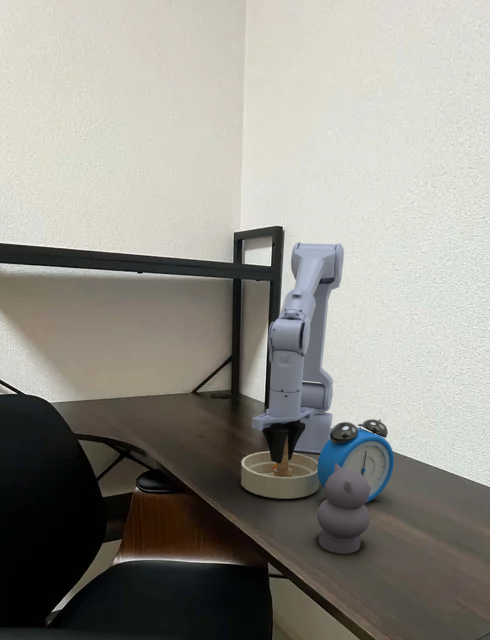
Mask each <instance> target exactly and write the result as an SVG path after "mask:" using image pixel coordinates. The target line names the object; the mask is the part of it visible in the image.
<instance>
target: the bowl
mask: <svg viewBox="0 0 490 640" xmlns="http://www.w3.org/2000/svg"><path fill="white" fill-rule="evenodd" d="M275 464H276V462H273V461H271V456H270V451H269V450H267V451H258V452H254V453H250V454H248V455H246V456H244V457H243V458H242V460H240V485H241V486H242V487H243V488H244V489H245V490H246V491H248V492H250V493H252V494H254V495H256V496H257V495H258V496H260V497H265V498H271V499H280V500H281V499H283V500H284V499H285V500H288V499H298V498H299V499H300V498H304V497H308V496H311V495H313V494H315V493H316V492H317V491H318V490H319V487H320V481H319V478H318V473H317V466H318V460H316V459H315V458H313V457H310V456H308V455H305V454H302V453H297V452H293V455H292V458H291V460H288V468H291V469H292V477H276V476H274V473H273V466H274V465H275Z"/></svg>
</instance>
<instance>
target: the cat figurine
mask: <svg viewBox="0 0 490 640" xmlns="http://www.w3.org/2000/svg"><path fill="white" fill-rule="evenodd" d="M369 494H370V487H369V484H368V482H367V480H366V478H365V477H364V476H363V475H361V474H360V473H358V472H356V471H354V470H348V469H344V470H343V469H342V468H341V467H340V466H339V465H338V464H337V463H336V462H335V469H334V473H333V474H332V475H331V476H330V477H329V478H328V480H327V481H326V484H325V489H324V495H325V498H326V499H325V500H323V501H322V502H321V503H320V505H319V507H318V509H317V512H316V518H317V522H318V524H319V527H321V530H320V531H319V534H318V544H319V545H320V547H321V548H322V549H324V550H326V551H329V552H330V553H334V554H335V553H336V554H351V553H354V552H355V553H356V552H357V551H358V550H360V547H361V542H362V536H361V535H362V534H363V533H364V532H366V531H367V529H368V527H369V526H370V521H371V515H370V512H369V510H368V508H367V507H366V502H367V500H368V498H369ZM367 503H368V502H367Z"/></svg>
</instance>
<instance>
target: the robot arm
mask: <svg viewBox="0 0 490 640" xmlns="http://www.w3.org/2000/svg"><path fill="white" fill-rule="evenodd" d="M344 251H345V249H344V247H343V245H342V244H341V243H337V244H336V243H335V244H334V243H307V242H305V243H303V242H299V241H298V242H296V243H295V244H294V245H293V247H292V250H291V255H290V268H291V269H290V270H291V273H292V275H293V278H294V281H295V284H294V288H293V289H292V290H290V291H288V293H286V296H285V297H284V300H283V304H282V306H281V310H280V312H279V314H278V318H277V319H275V321H271V323H270V325H269V327H268V328H269V329H268V336H267V345H268V353H269V356H268V357H269V358H268V361H269V363H271V364H270V381H269V382H270V383H269V384H270V385H269V402H268V408H267V409H265V412H264V413H262V414H259V415H258V416H254V417H252V418H251V419H252V420H251V429H253V430H257V431H259V432H260V431H261V432H262V434H263V436H264V438H265V440H266V443H267V447H268V451H270V456H271V461H273V462H276V463H281V462H282V458H283V450H284V444H285V441H286V438H287V435H288V460H291V458H292V455H293V453H295V452H301V453H302V452H304V453H313V454H321V451H322V449H323V447H324V446H325V444H326V443H327V442H328V440H329V439H330V432H331V430H332V425H333V413H332V412H328V411H329V410H330V409H331V406H332V401H333V394H334V393H333V390H334V387H333V384H334V380H333V377H332V376H331V374H329V373H328V372H327V371H326V370H325V369H324V368H323V362H324V359H323V358H324V349H325V341H326V339H325V338H326V330H327V329H326V328H327V320H328V309H329V301H330V296H331V295H332V294H331V293H332V291H333V290H336V289H338V288H340V285H341V282H342V277H343V276H342V275H343V267H344V257H345V256H344V255H345V252H344Z"/></svg>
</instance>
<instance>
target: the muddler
mask: <svg viewBox="0 0 490 640" xmlns="http://www.w3.org/2000/svg"><path fill="white" fill-rule="evenodd" d="M273 473H274V476H276V477H292V469H291V468H288V435H287V438H286V441H285V444H284V450H283V458H282V462H281V463H277V468H275V469H274V470H273Z"/></svg>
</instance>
